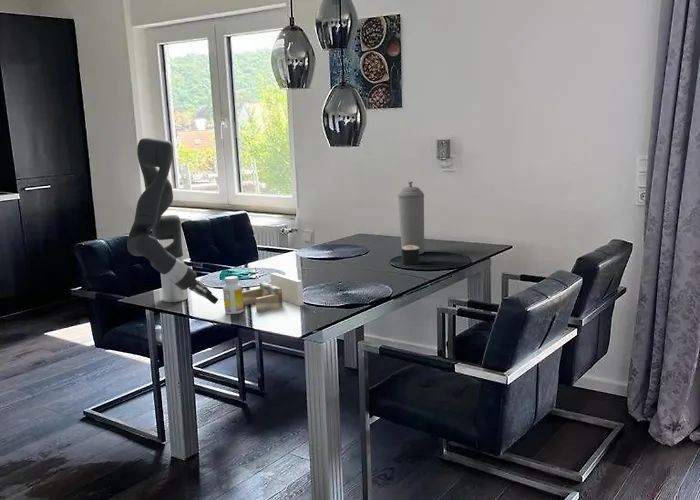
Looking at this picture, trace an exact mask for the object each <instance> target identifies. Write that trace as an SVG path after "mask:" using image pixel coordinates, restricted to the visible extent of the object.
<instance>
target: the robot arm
mask: <svg viewBox="0 0 700 500" xmlns="http://www.w3.org/2000/svg"><path fill="white" fill-rule="evenodd" d="M136 151H137V155H136V156H137V160H138V164H139V166H140V170H141V173H142V177H143V181H144V187H145V188H144V191H143V192H142V193H141V194H140V196H139V198H138V200H137V203H136V207H135V208H136V209H135V215H134V220H133V223H132V226H131V228H130V232H129V234H128V237H127V240H126V247H127V251H128V252H129V253H130V255H132V256H134V257H145V258H146V259H148V261H149V262H150V266H151V267H152V268H154V270H156V271H157V272H159V273H160V280H161V281H160V283H161V292H162V301H163V302H166V303H177V302H182V301H185V300H187V299H188V290H187V289H189V290H190V291H191V292H193V293H195V294H197V295H198V296H200V297H203V298H204V299H207V300H208V301H209V302H210V303H212V304H213V305H216V304H217V302H218V301H219V298H218V297H217V296H215V295H214V294H213V292H212V291H211V290H210V289H209V288H208V287H207V286H205V284H203V282H201V281H200V280H197V272H196V271H195V270H193V269H192V268H191V267H190V266H188V265H187V264H186V263H185V261H184V252H183V241H182V224H181V218H180V217H179V215H177V214H171V215H170V214H169V215H164V213H165V212H166V211H167V210H168V209H169V208H170V206H171V205H172V203H173V200H174V193H173V187H172V183H171V182H170V180H169V179H168V176H169V173H170V169H171V165H172V162H173V158H174V146H173V143H172V142H171V140H170V141H169V140H165V139H164V140H163V139H158V138H152V137H150V138H149V137H143V138H141V139H140V140H139V141H138V143H137V148H136ZM150 233H152V235H151V234H150ZM166 240H172V242H171V243H170V244H168V245H167V246H165V247H164V246H163V245H162V244H161V243H160V241H166Z"/></svg>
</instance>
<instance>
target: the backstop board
mask: <svg viewBox="0 0 700 500" xmlns="http://www.w3.org/2000/svg"><path fill="white" fill-rule="evenodd" d="M270 285H273V286H276V287H279V288H282V301H285V302H288V303H290V304H293V305H296V306H304V292H303V291H304V290H303V281H302V280H300V279H297V278H293V277H291V276H287V275H284V274H281V273H277V272H272V273H270Z"/></svg>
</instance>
